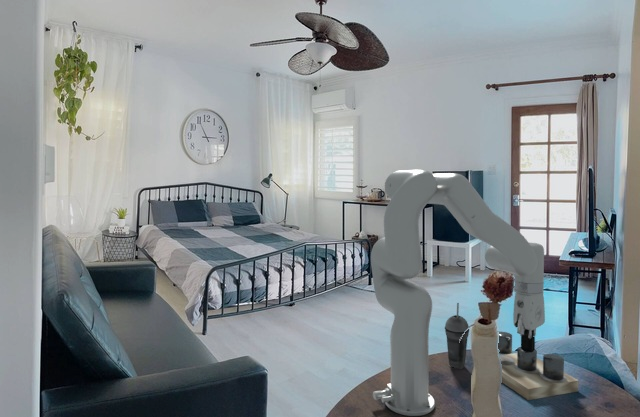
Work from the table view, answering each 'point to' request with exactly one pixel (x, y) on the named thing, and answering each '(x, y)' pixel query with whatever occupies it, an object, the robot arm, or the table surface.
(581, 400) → the table surface
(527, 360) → the knob mid
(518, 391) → the mount plate
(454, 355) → the beverage cup
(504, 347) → the knob left
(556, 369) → the knob right
